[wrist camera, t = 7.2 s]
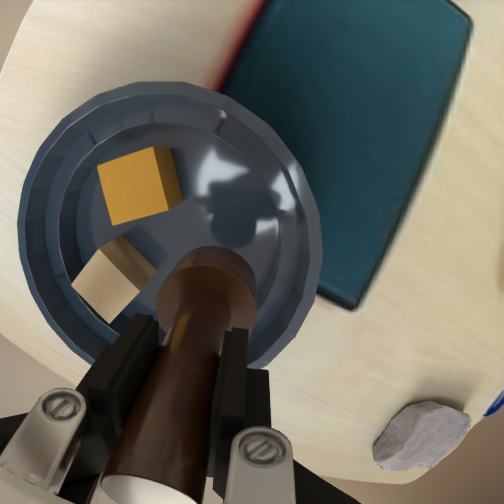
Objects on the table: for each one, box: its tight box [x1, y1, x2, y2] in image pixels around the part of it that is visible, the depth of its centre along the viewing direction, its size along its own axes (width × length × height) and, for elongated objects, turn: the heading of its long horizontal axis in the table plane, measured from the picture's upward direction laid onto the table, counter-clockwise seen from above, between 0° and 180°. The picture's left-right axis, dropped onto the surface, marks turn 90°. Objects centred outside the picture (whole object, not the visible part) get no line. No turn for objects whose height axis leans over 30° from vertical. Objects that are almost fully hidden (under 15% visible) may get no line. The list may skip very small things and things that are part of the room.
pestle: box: [100, 245, 257, 504], centre depth 10 cm, size 4×4×12 cm
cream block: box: [71, 235, 157, 324], centre depth 22 cm, size 4×4×4 cm
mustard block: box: [97, 146, 184, 226], centre depth 20 cm, size 4×4×4 cm
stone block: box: [372, 400, 471, 472], centre depth 29 cm, size 12×5×10 cm
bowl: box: [17, 81, 323, 369], centre depth 21 cm, size 21×21×6 cm
